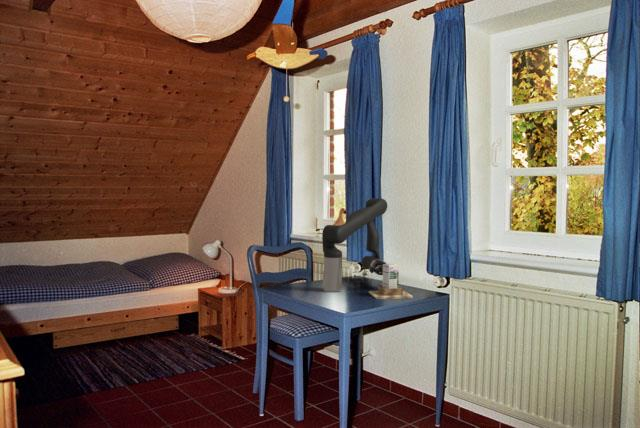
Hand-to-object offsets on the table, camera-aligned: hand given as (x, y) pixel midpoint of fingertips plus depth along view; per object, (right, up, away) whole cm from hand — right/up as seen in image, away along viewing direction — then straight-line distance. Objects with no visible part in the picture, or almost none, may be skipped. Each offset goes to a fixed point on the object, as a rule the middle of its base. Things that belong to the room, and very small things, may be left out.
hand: (387, 271), depth 270 cm
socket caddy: (+1, -11, -5) cm, 12 cm away
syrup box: (+1, -10, -5) cm, 11 cm away
